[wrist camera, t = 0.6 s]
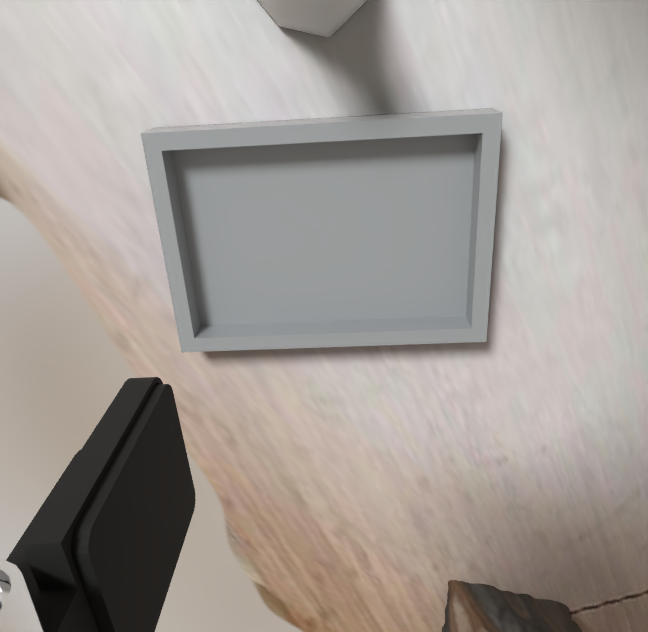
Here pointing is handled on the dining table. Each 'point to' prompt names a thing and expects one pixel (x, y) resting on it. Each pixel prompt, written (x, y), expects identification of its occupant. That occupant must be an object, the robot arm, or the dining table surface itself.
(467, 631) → the owl
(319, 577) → the dining table surface
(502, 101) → the dining table surface
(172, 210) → the tray
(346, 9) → the flask
